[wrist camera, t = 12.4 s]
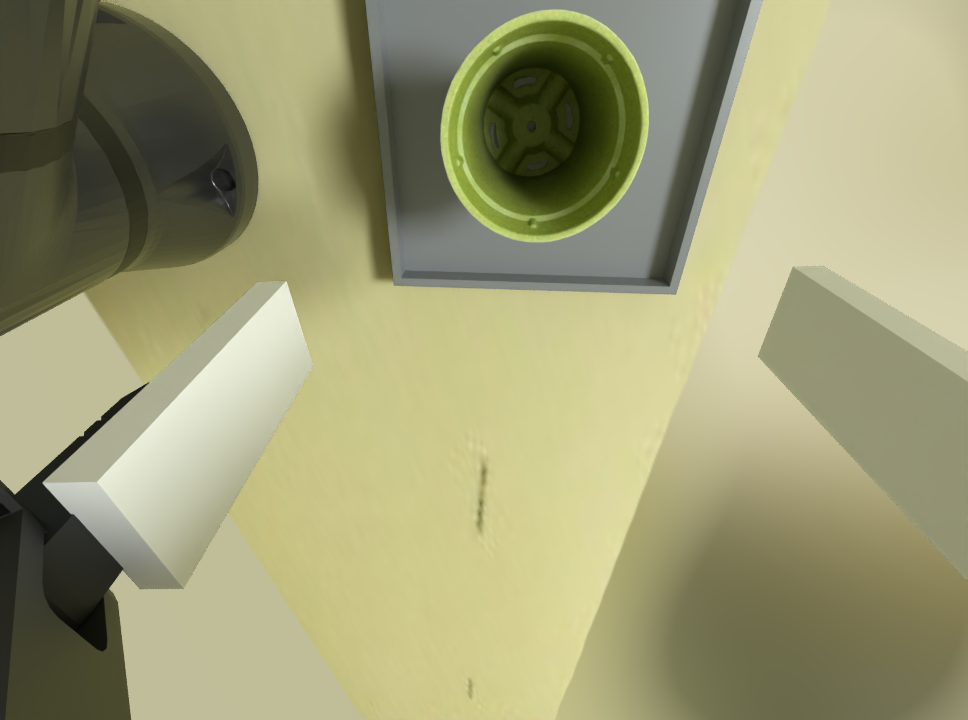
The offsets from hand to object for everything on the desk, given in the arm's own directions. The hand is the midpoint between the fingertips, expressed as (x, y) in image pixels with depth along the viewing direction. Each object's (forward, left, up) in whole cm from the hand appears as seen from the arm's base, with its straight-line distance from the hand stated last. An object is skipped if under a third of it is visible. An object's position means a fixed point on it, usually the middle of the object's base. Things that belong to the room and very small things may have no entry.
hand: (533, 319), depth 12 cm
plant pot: (-2, +3, -20) cm, 21 cm away
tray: (-1, +3, -21) cm, 21 cm away
